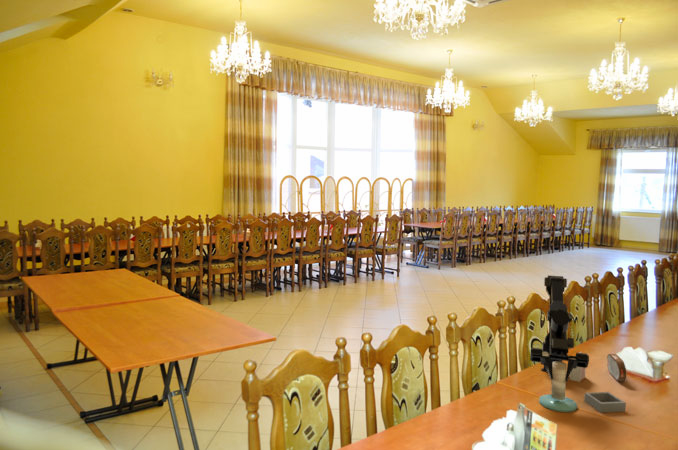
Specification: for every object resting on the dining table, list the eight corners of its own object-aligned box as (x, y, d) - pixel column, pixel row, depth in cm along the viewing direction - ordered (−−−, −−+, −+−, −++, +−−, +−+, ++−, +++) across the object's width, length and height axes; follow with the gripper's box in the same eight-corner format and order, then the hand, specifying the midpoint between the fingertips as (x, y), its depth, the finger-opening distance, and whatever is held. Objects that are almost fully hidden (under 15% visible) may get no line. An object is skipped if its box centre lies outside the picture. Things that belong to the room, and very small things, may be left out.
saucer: (532, 402, 176) (532, 399, 176) (551, 394, 183) (551, 391, 183) (564, 415, 166) (564, 412, 166) (583, 406, 173) (583, 403, 173)
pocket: (584, 401, 177) (584, 392, 177) (608, 400, 178) (608, 391, 178) (600, 412, 168) (600, 403, 168) (625, 411, 169) (625, 402, 169)
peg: (548, 395, 176) (550, 361, 175) (560, 394, 177) (561, 361, 176) (555, 400, 172) (557, 366, 171) (567, 399, 172) (569, 365, 171)
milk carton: (569, 379, 197) (570, 354, 197) (575, 374, 202) (576, 350, 202) (579, 382, 195) (580, 356, 194) (585, 377, 200) (586, 352, 199)
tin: (626, 384, 193) (627, 363, 192) (617, 384, 193) (618, 362, 193) (613, 370, 207) (614, 350, 207) (605, 370, 208) (606, 350, 207)
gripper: (531, 325, 179) (530, 366, 170) (589, 331, 173) (592, 373, 163) (530, 340, 187) (529, 380, 178) (586, 346, 181) (588, 388, 171)
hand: (559, 380), depth 172 cm, fingers closed on peg, 4 cm apart
